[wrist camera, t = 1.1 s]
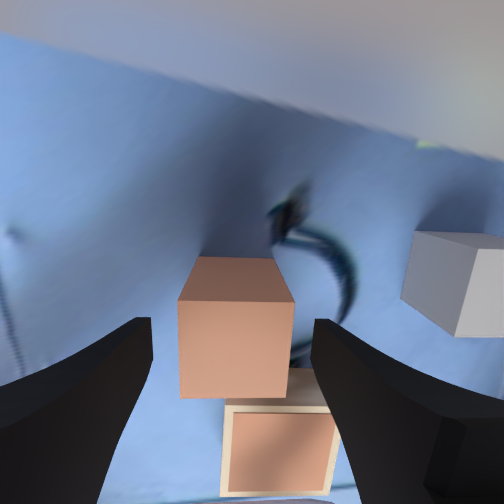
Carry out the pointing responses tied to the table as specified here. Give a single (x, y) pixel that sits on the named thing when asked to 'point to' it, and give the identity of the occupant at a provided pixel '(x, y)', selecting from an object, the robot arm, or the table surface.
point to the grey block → (457, 282)
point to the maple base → (279, 442)
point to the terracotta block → (234, 329)
